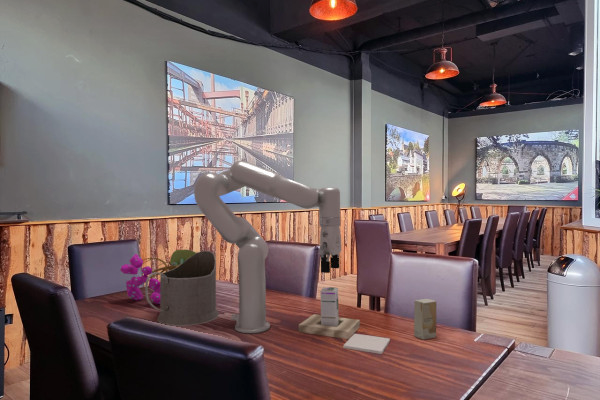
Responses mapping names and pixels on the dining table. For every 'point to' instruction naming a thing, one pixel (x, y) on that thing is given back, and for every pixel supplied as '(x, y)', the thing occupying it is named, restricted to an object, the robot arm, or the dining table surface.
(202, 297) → the pitcher
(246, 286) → the robot arm
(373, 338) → the plate
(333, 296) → the syrup box
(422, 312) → the skincare box
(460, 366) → the dining table surface
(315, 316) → the frame
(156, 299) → the purple flowering plant
